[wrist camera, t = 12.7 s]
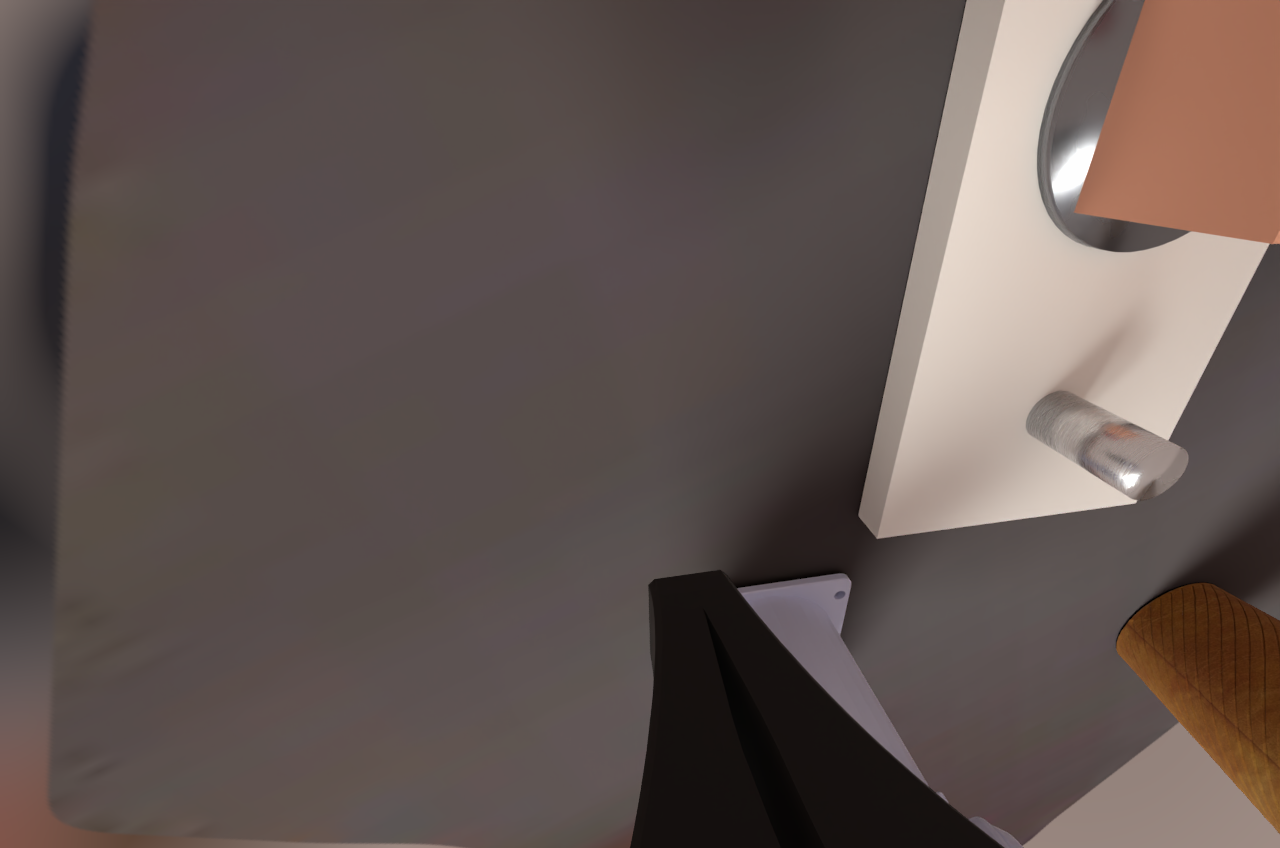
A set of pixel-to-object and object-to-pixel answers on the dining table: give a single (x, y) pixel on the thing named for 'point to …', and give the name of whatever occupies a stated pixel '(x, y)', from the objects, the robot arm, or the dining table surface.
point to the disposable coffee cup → (1216, 680)
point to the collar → (1194, 122)
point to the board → (1027, 305)
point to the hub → (1089, 131)
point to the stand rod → (1107, 445)
